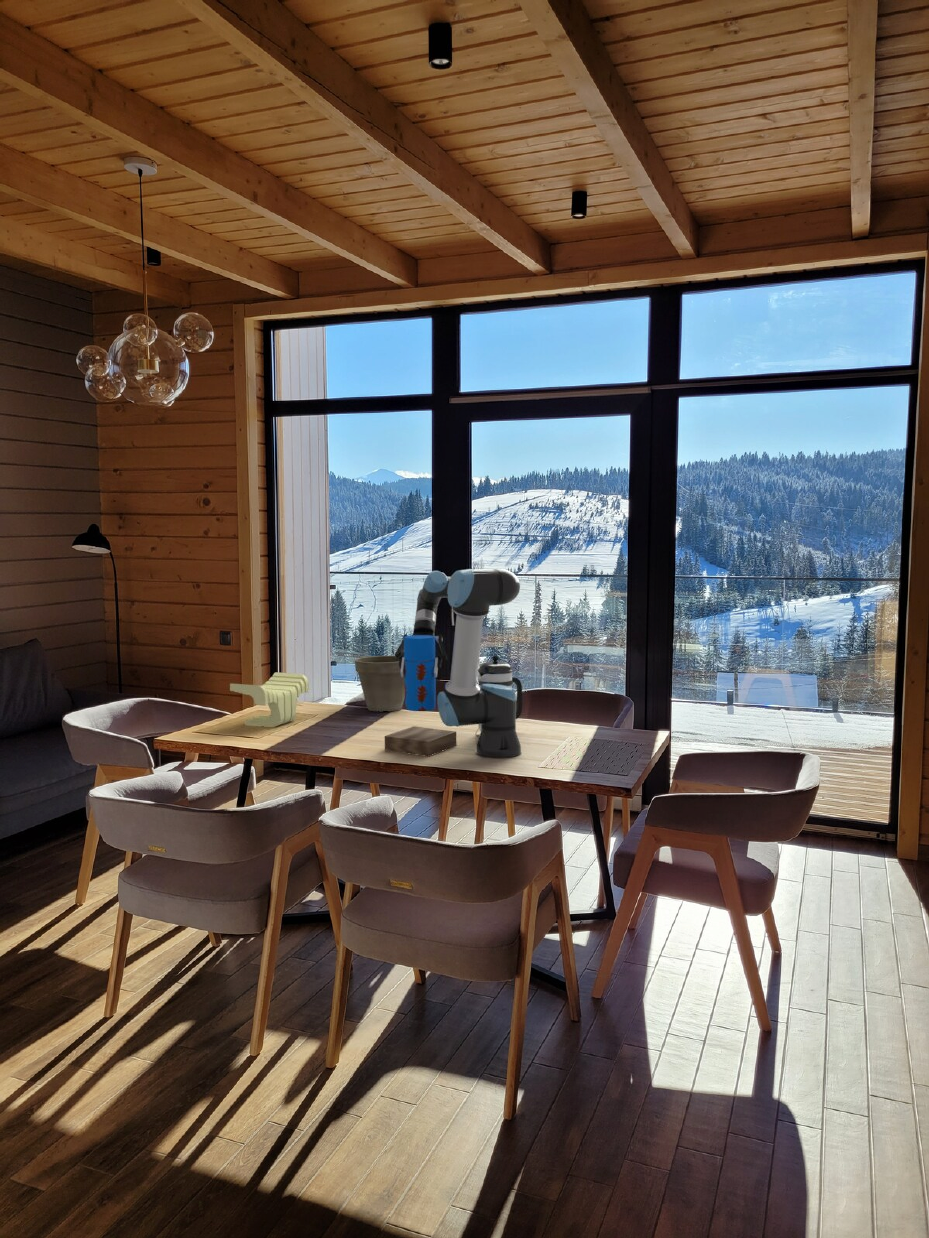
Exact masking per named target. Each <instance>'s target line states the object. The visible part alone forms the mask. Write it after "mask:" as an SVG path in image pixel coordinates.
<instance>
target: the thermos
mask: <svg viewBox="0 0 929 1238" xmlns="http://www.w3.org/2000/svg"><path fill="white" fill-rule="evenodd" d="M435 636H436V635H435ZM435 636H430V635H413V634H411V635H407V636H405V637H404V636H403V637H404V684H405V699H404V707H405V708H404V709H405V710H407V711H411V712H428V711H433V710H434V711H435V709H436V702H437V697H436V696H437V695H436V693H437V692H436V690H437V689H436V687H437V686H436V685H437V683H436V681H437V679H436V678H437V677H435V676H434V668H435V659H436V657H435V648H436V640H435Z"/></svg>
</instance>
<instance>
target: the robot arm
mask: <svg viewBox="0 0 929 1238" xmlns="http://www.w3.org/2000/svg"><path fill="white" fill-rule="evenodd" d="M520 590H521V583H520V581H519V578H518V577H517V575H516V574H514V572H512V571H509V570H507V569H505V568H503V569H502V568H485V569H483V568H480V569H479V568H478V569H477V568H476V569H474V568H472V569H471V568H466V569H460V570H456V571H455V572H453V574H452V575H451V576H447V575H446V574H445V573H444V572H441V571H439V570H432V571H430V572H429V573H428V574H427V575H426V577H425V580H424V582H423V585H422V588H421V589H419V591H418V595H417V598H416V601H417V603H416V611H415V618H414V625H413V630H412V635H430V636H435V642H437V643H438V646H439V649H440V651H441V653H440V652H439V650H438V649H437V648H436V647H435V668H434V676H435V677H436V678H438V672H439V671H438V670H439V669H441V667H442V662H443V661H447V660H448V654H447V651H446V649H445V646H444V642H443V640H444V639H443V635H442V634H439V635H435V632H436V625H437V623H436V622H437V611H438V606H439V604H440V602H441V599H442V598H447V602H448V604H449V606H450V607H452V612H453V613H454V614H456V617H455V619H456V620H455V630H454V638H453V649H452V658H451V666H450V667H451V670H450V680H449V681H448V682H446V683H445V685H444V691H439V692H438V695H437V697H436V702H437V709H438V714H439V716H440V717H439V718H440V719H441V722H442V723H443V724H444V725H445V726H446V727H460V726H461V727H462V726H473V725H479V724H481V732H480V733H479V734H480V735H479V736H478V739H477V743H476V747H475V750H476V754H477V755H478V756H481V757H486V758H497V759H498V758H499V759H500V758H501V759H502V758H510V757H511V758H512V757H516V756H518V755H521V753H522V745H521V742H520V740H519V736H518V734H517V726H516V725H517V724H516V721H517V719H516V711H517V695H516V690H515V688H514V687H513V688H511V687H509V686H504V685H498V684H482V685H481V689H480V687H479V686H478V684H477V680H478V679H477V677H478V669H479V661H480V650H481V641H482V632H483V624H484V618H485V617H486V616H487V615H488V614H489V612H490V607H491V606H502V605H506V604H509V603H511V602H512V601H514V600H515V599H516V598H517V597H518V595H519V594H520ZM405 636H408V635H407V634H403V639H402V641H401V642H400V644H399V646H398V647H397V649H396V651H395V653H394V656H395V659H396V660H399V668H401V672H400V673H401V677H404V637H405Z"/></svg>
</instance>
